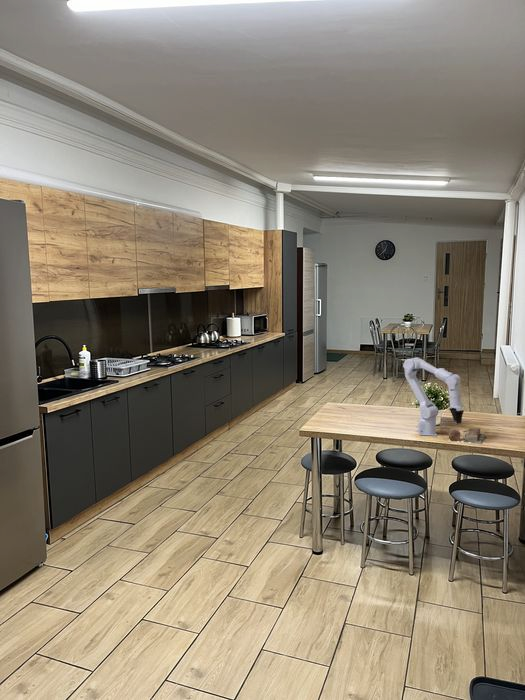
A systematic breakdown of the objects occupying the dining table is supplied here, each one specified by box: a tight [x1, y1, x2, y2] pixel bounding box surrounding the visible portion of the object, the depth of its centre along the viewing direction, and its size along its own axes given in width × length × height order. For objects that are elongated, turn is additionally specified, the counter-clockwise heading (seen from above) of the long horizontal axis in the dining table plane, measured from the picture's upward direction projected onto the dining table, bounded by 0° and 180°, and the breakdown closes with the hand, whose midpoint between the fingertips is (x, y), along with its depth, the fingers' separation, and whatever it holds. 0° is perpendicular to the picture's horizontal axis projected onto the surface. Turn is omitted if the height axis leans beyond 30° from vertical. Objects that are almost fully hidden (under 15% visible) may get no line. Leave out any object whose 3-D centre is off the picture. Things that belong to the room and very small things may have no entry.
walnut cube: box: [448, 429, 461, 442], centre depth 294 cm, size 5×5×5 cm
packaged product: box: [460, 427, 485, 445], centre depth 297 cm, size 18×5×10 cm
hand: (457, 422), depth 293 cm, fingers open, 7 cm apart
